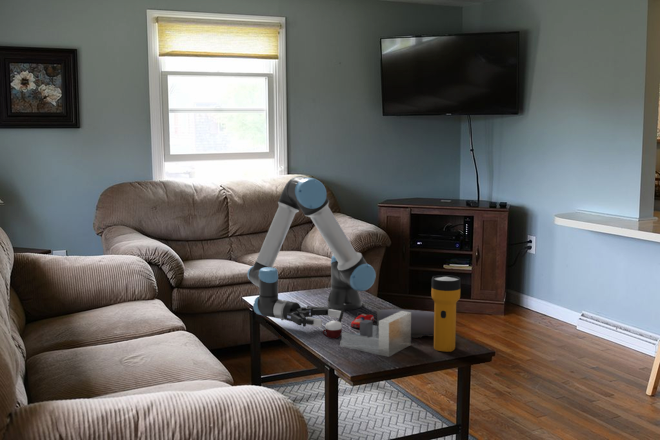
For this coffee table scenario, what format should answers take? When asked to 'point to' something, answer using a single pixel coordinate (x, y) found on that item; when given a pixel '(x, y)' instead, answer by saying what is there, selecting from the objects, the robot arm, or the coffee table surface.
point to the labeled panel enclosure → (383, 336)
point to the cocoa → (334, 326)
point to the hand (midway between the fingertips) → (332, 319)
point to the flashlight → (445, 310)
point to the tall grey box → (366, 328)
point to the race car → (361, 318)
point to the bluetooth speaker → (413, 321)
